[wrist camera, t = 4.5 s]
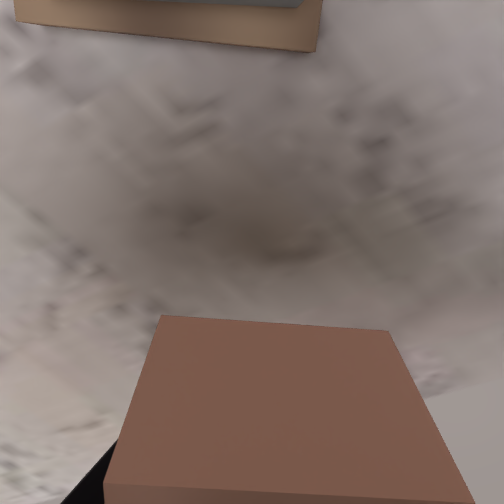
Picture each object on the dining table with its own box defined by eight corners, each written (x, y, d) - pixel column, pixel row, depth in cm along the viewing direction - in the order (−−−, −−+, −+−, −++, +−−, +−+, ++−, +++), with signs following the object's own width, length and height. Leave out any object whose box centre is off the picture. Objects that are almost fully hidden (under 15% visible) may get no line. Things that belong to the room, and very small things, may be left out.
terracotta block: (388, 331, 9) (475, 502, 6) (348, 484, 11) (393, 683, 8) (161, 314, 9) (103, 483, 6) (161, 474, 11) (119, 672, 8)
